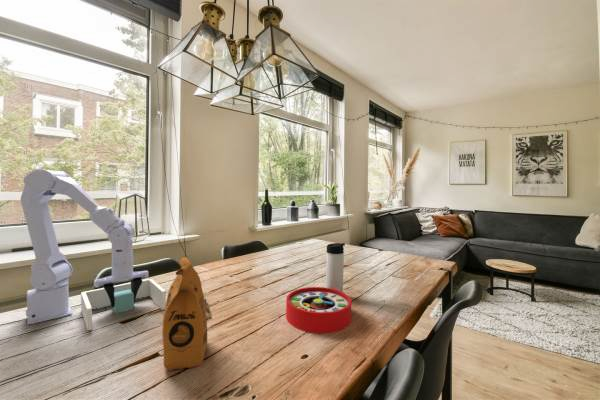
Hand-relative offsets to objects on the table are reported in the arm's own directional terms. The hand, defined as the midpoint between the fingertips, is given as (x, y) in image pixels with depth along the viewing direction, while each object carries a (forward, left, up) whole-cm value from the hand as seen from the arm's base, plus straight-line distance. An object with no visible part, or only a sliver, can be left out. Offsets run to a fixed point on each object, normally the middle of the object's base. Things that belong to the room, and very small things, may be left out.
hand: (123, 303), depth 88 cm
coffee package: (+5, -38, -2) cm, 38 cm away
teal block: (0, 0, -2) cm, 2 cm away
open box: (0, -1, -2) cm, 2 cm away
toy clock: (+43, -46, -2) cm, 63 cm away
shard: (+15, -18, -2) cm, 24 cm away
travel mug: (+58, -40, -2) cm, 71 cm away
